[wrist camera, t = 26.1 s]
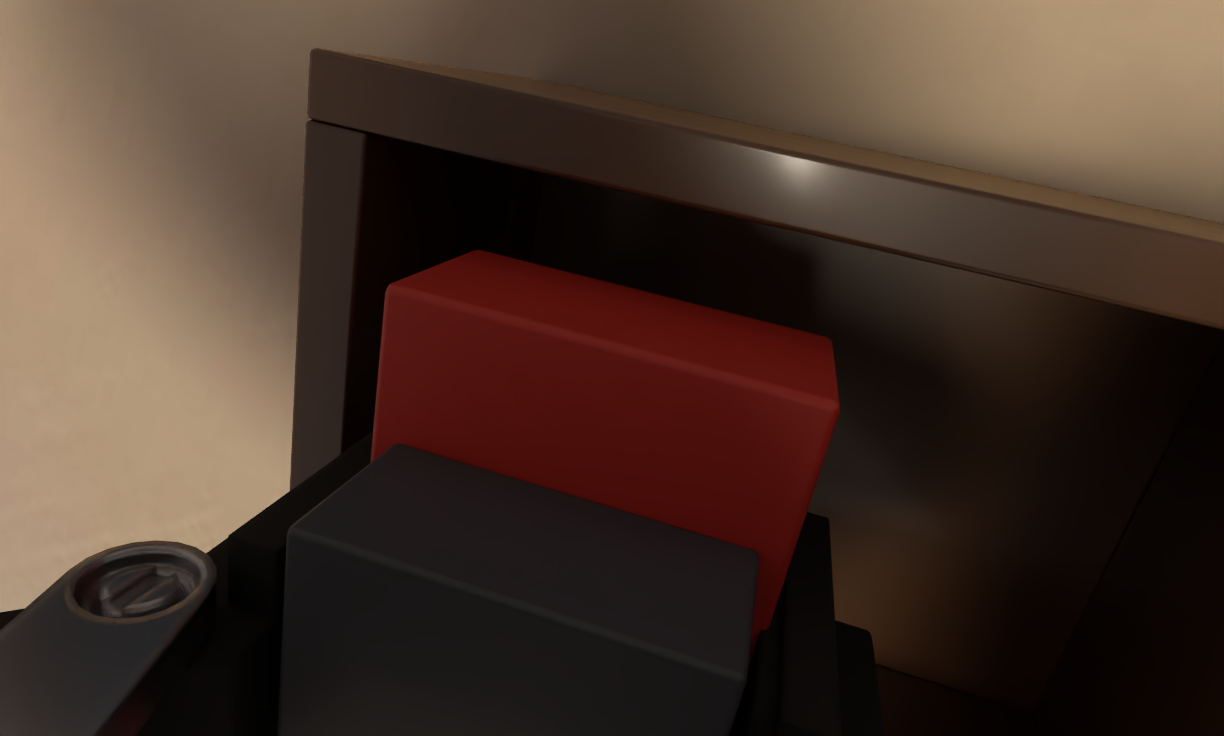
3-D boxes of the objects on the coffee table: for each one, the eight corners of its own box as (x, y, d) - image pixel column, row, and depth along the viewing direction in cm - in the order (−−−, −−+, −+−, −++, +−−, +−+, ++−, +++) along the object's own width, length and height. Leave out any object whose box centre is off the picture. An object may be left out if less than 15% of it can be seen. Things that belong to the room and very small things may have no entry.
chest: (466, 541, 20) (275, 781, 13) (533, 78, 16) (307, 46, 9) (1044, 725, 18) (1210, 1145, 10) (1297, 239, 14) (1862, 378, 6)
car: (489, 236, 10) (243, 328, 6) (840, 323, 9) (873, 507, 5) (427, 701, 13) (230, 1002, 8) (691, 796, 12) (627, 1181, 8)
